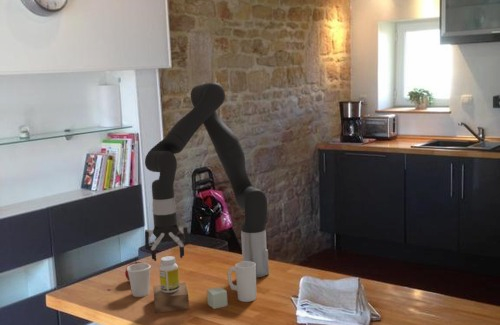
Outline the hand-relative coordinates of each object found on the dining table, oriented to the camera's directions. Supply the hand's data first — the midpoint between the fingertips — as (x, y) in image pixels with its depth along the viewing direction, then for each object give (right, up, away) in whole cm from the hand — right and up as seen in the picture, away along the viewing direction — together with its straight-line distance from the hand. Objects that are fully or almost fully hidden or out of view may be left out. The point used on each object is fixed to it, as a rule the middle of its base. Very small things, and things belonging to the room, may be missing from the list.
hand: (168, 258), depth 187 cm
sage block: (+16, -15, 0) cm, 22 cm away
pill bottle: (+1, -11, +2) cm, 11 cm away
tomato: (-15, -13, +26) cm, 33 cm away
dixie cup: (-12, -15, +13) cm, 23 cm away
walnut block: (+1, -16, +2) cm, 16 cm away
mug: (+25, -14, +5) cm, 29 cm away
